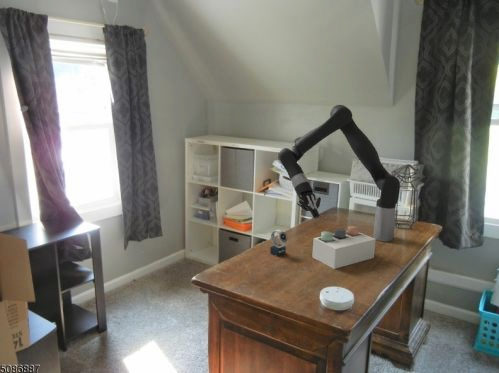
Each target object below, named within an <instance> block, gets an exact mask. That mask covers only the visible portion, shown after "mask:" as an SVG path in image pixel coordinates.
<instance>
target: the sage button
mask: <svg viewBox="0 0 499 373" xmlns="http://www.w3.org/2000/svg"><path fill="white" fill-rule="evenodd" d="M333 234H334V233H333V232H332V231H327V230H325V231H321V232H320V237H321V241H323V242H325V243H328V242H332V237H333Z"/></svg>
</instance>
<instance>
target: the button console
mask: <svg viewBox="0 0 499 373" xmlns="http://www.w3.org/2000/svg"><path fill="white" fill-rule="evenodd" d="M312 240H313V243H312V254H311V255H312V258H313V259H315V260H317V261H318V262H320V263H323V264H324V265H325V266H328V267H330V268H331V269H333V270H336V269H339V268H343V267H346V266H349V265H353V264H357V263H360V262H364V261H367V260H368V261H369V260H371V259H374V258H375V248H376V241H377V240H376V239H374V238H373V236H372V237H371V236H369V235H367V234H364V233H362V232H359V233H358V236H354V237H352V236H350V235H347V230H346V238H345V239H341V240H339V239H337V238H335V237H334V233H333V237H332V242H328V243H325V242H323V241H321V236H318V237H314V238H313V239H312Z"/></svg>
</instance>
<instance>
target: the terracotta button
mask: <svg viewBox="0 0 499 373" xmlns="http://www.w3.org/2000/svg"><path fill="white" fill-rule="evenodd" d="M346 231H347V235H350V236H352V237H354V236H358V233H359V231H360V227H359V226H356V225H348V226H347V229H346Z"/></svg>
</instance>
